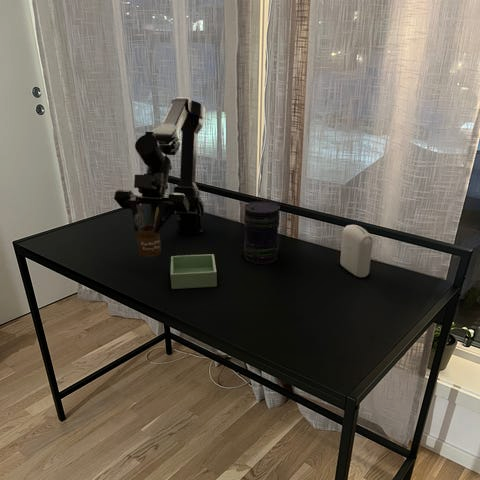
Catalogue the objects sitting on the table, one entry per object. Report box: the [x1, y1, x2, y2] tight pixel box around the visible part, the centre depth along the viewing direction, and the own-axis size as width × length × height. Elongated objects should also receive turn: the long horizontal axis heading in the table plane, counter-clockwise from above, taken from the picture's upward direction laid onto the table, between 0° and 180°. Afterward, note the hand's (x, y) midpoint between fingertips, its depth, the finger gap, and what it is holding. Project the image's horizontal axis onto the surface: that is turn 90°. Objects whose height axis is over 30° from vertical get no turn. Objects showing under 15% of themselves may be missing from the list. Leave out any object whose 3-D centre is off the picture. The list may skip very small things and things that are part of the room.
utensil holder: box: [135, 206, 162, 258], centre depth 132 cm, size 6×6×12 cm
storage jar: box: [243, 200, 280, 265], centre depth 145 cm, size 10×10×15 cm
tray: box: [169, 253, 218, 290], centre depth 136 cm, size 12×12×4 cm
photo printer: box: [339, 224, 374, 278], centre depth 137 cm, size 10×4×12 cm, turn 20°
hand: (145, 231), depth 130 cm, fingers closed on utensil holder, 5 cm apart
